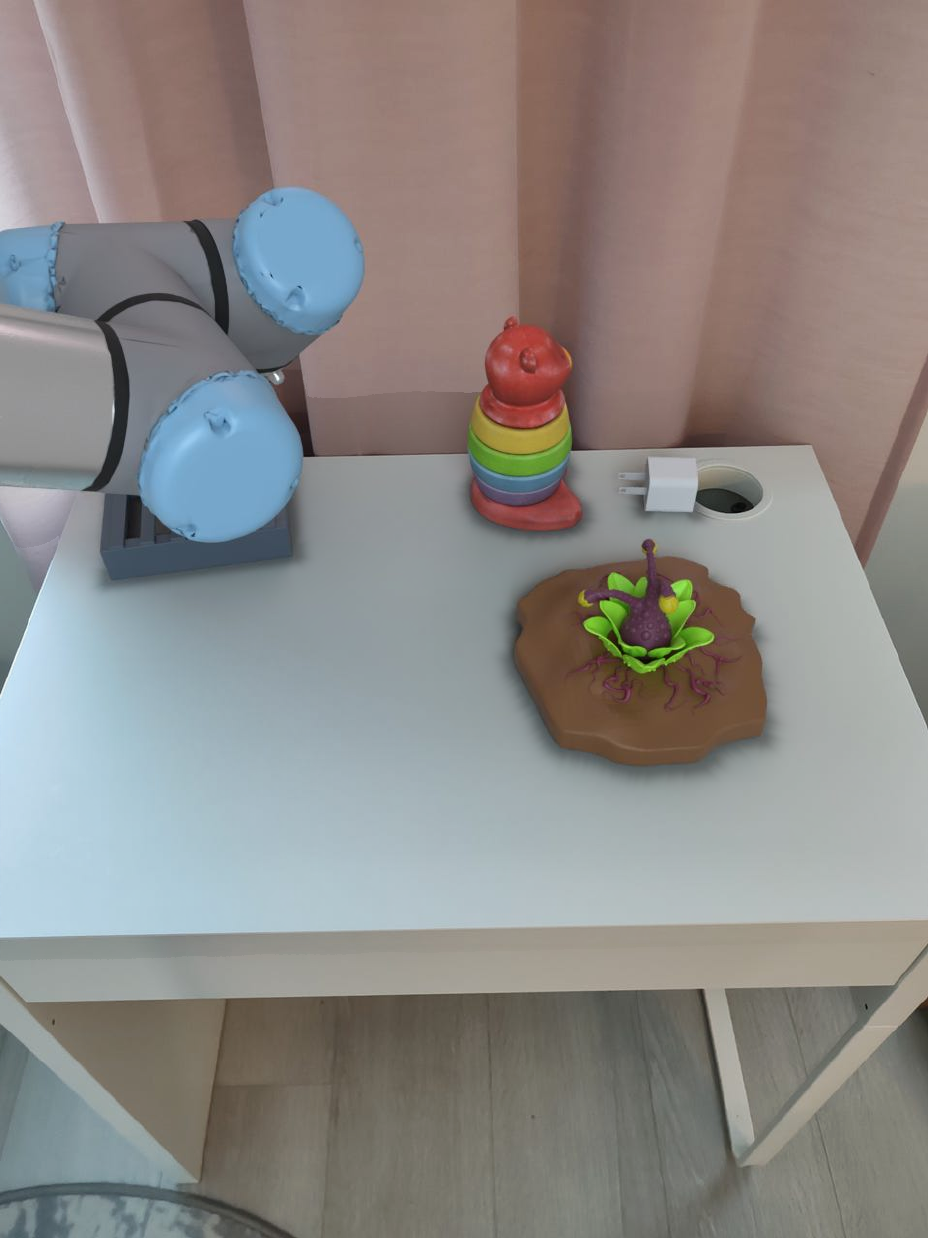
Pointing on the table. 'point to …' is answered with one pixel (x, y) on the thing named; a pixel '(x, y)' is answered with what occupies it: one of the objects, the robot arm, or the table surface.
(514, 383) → the stacking bear
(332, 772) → the table surface
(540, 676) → the plant
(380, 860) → the table surface
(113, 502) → the dish rack
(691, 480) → the usb wall charger
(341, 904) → the table surface
